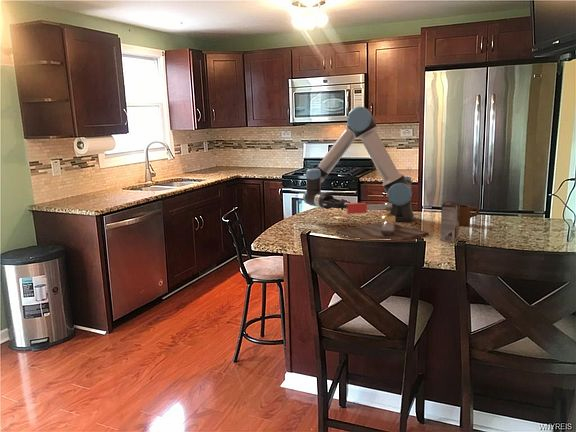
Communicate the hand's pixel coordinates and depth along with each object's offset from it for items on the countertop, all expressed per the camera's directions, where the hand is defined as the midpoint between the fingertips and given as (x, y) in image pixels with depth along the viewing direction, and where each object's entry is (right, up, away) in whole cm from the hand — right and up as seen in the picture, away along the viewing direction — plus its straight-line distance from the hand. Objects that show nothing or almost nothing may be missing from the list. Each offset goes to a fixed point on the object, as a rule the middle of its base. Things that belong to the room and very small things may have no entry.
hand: (354, 207), depth 219 cm
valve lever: (+7, -2, -1) cm, 8 cm away
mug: (+59, -9, +14) cm, 61 cm away
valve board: (+13, -13, 0) cm, 18 cm away
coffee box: (+41, -15, -11) cm, 45 cm away
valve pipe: (+17, -12, +2) cm, 21 cm away
